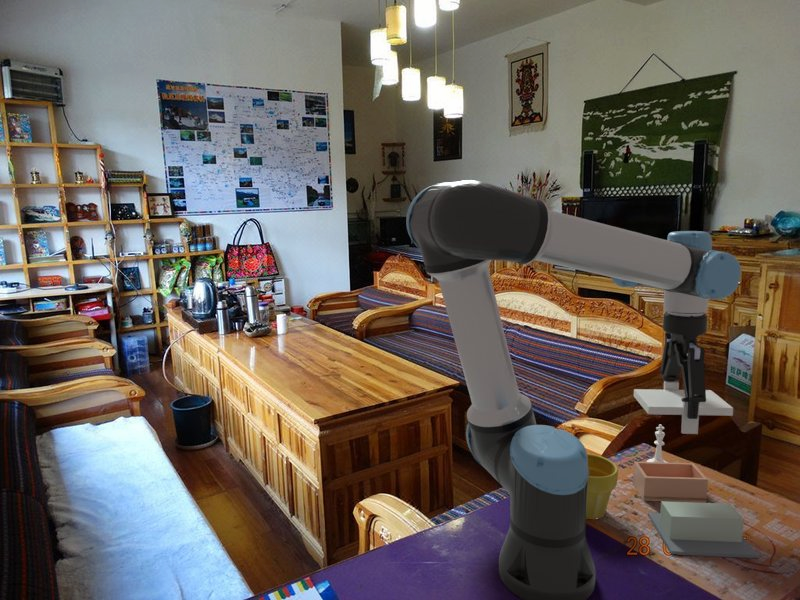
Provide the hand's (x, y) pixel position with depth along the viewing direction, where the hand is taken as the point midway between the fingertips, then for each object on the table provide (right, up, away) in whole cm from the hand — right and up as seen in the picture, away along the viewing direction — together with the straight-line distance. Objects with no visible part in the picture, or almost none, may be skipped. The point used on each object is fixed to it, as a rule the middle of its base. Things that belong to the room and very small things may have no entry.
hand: (679, 422), depth 110 cm
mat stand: (-2, -18, -10) cm, 21 cm away
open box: (0, -16, +4) cm, 16 cm away
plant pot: (-19, -17, -1) cm, 25 cm away
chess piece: (+3, -14, +16) cm, 21 cm away
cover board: (0, +3, -1) cm, 3 cm away
